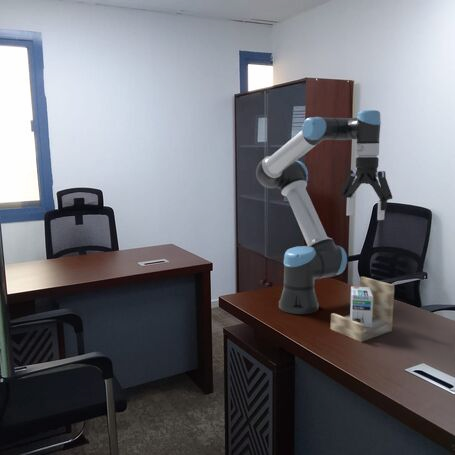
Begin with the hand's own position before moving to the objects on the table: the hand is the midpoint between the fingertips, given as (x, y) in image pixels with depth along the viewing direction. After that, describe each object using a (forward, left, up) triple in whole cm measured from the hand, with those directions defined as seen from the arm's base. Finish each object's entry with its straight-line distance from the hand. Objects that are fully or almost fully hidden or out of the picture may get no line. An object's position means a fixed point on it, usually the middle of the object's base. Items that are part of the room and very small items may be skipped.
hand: (364, 217), depth 162 cm
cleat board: (+8, -10, -37) cm, 39 cm away
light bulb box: (+8, -10, -34) cm, 36 cm away
